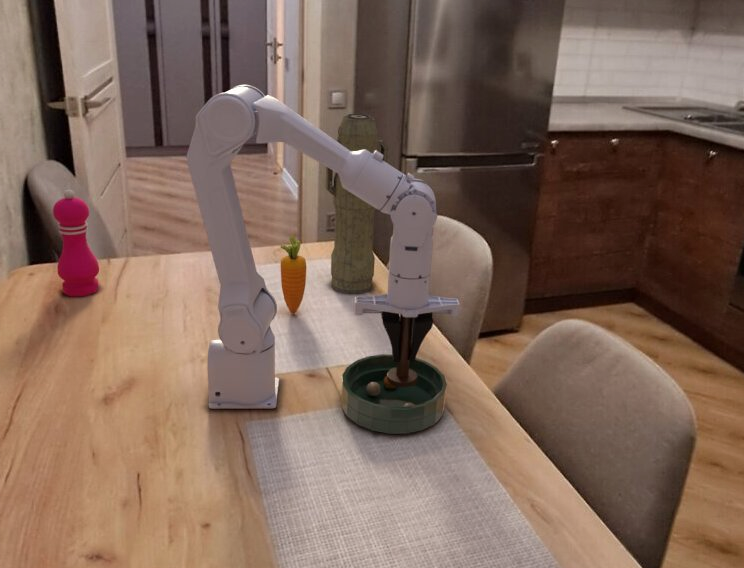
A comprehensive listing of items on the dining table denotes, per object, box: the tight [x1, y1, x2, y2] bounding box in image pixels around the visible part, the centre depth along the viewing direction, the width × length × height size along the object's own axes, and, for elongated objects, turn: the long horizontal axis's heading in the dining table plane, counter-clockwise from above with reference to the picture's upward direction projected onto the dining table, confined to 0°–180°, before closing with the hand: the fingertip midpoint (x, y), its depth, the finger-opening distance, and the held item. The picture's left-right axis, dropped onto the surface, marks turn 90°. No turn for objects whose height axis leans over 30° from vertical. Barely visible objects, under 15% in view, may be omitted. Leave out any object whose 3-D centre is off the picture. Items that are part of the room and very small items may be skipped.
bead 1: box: [366, 382, 381, 397], centre depth 100 cm, size 2×2×2 cm
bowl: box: [340, 353, 448, 435], centre depth 98 cm, size 15×15×4 cm
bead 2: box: [384, 376, 396, 389], centre depth 102 cm, size 2×2×2 cm
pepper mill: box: [52, 189, 100, 297], centre depth 125 cm, size 7×7×20 cm
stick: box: [387, 314, 417, 387], centre depth 94 cm, size 4×4×14 cm
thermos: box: [325, 113, 389, 295], centre depth 133 cm, size 9×12×35 cm
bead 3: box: [403, 403, 415, 407], centre depth 95 cm, size 2×2×2 cm
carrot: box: [280, 235, 307, 315], centre depth 123 cm, size 5×5×15 cm
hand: (403, 358), depth 96 cm, fingers closed on stick, 2 cm apart
